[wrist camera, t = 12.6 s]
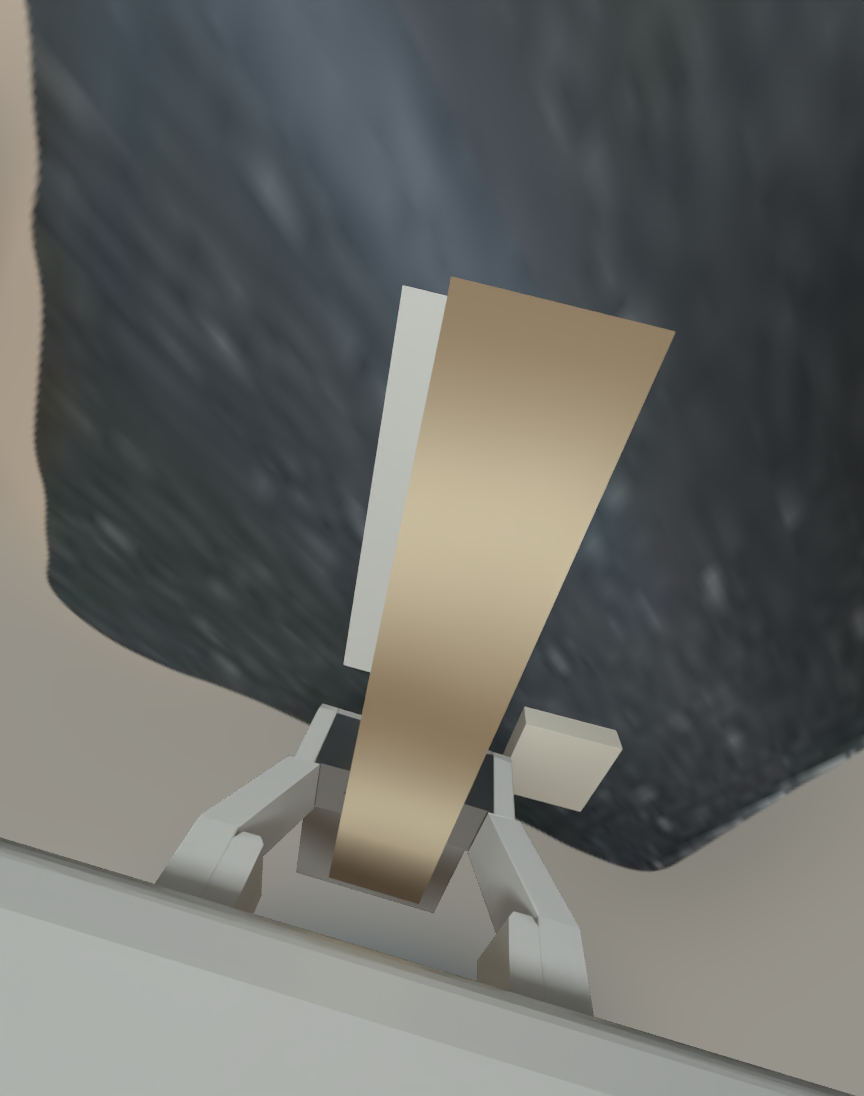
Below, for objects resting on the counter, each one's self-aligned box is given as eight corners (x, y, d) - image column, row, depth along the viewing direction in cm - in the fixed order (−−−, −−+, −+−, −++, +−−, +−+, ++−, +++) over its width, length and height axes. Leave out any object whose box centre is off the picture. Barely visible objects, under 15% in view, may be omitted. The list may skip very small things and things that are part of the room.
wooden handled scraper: (383, 299, 8) (288, 236, 4) (676, 372, 7) (849, 374, 4) (306, 845, 17) (256, 973, 13) (436, 884, 17) (421, 1024, 13)
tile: (526, 724, 27) (495, 789, 31) (622, 749, 27) (580, 811, 31) (523, 702, 29) (495, 766, 33) (614, 725, 29) (575, 787, 32)
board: (406, 288, 18) (402, 285, 17) (631, 344, 18) (637, 343, 17) (347, 657, 29) (343, 664, 28) (486, 696, 29) (486, 705, 28)
